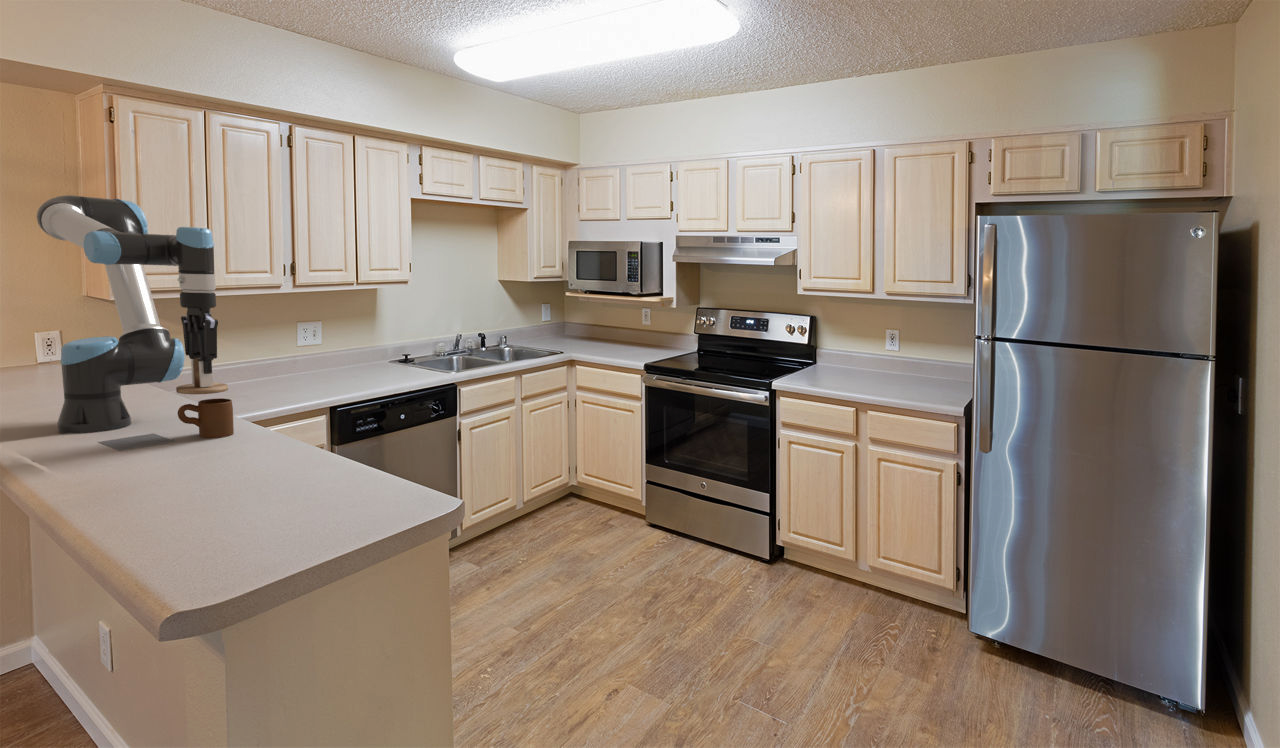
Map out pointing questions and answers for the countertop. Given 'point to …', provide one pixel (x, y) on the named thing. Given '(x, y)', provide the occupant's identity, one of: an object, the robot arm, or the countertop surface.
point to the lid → (196, 388)
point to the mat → (136, 442)
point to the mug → (210, 417)
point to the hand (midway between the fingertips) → (202, 385)
